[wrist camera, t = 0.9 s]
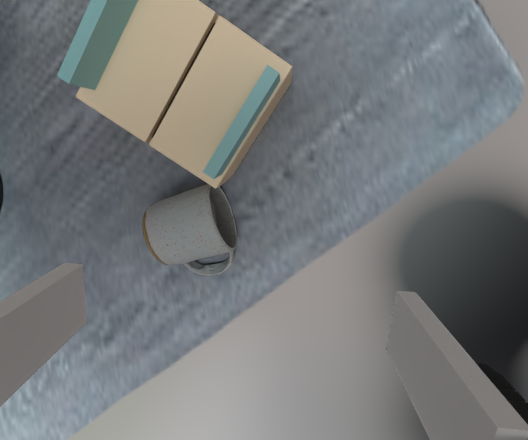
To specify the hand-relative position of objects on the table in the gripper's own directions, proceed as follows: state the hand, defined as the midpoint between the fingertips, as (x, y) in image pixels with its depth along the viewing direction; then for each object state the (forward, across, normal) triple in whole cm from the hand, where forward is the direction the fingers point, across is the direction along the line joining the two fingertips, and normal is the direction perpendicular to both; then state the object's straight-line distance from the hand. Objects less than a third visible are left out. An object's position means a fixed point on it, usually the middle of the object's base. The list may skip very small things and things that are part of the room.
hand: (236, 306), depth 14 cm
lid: (+17, -4, +9) cm, 20 cm away
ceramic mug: (+26, -7, -4) cm, 27 cm away
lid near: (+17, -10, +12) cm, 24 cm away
